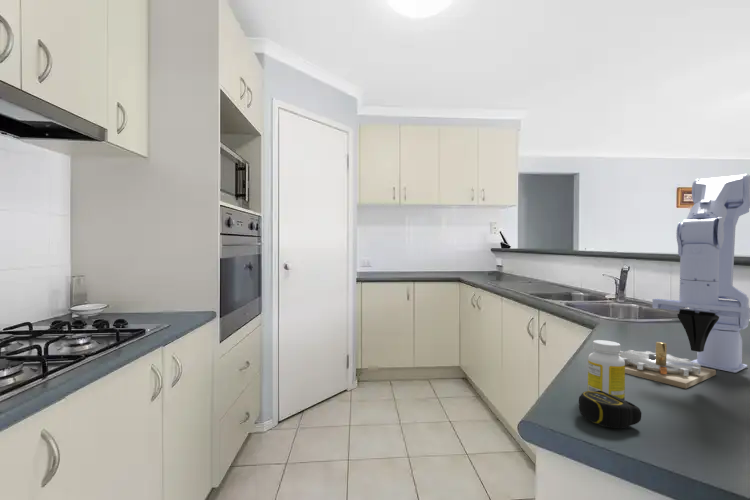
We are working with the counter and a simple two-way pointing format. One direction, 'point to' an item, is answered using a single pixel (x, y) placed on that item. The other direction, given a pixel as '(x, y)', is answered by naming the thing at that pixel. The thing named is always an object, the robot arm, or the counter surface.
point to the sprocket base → (672, 376)
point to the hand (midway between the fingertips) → (697, 350)
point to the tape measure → (608, 410)
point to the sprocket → (660, 361)
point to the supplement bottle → (606, 369)
